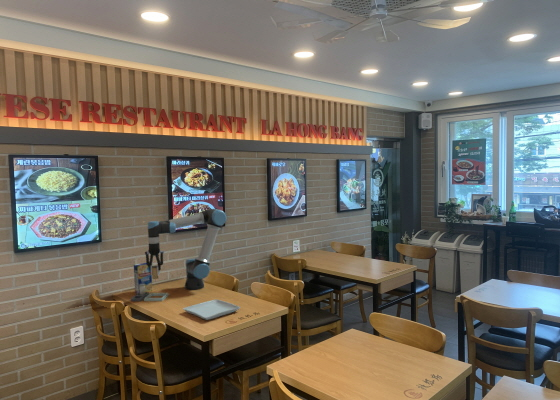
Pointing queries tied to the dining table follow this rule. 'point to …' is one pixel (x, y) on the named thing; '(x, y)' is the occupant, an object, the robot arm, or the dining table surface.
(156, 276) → the fuse
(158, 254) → the robot arm
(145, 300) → the parts tray
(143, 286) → the fuse
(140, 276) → the beverage box
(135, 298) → the fuse block
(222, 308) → the square plate
